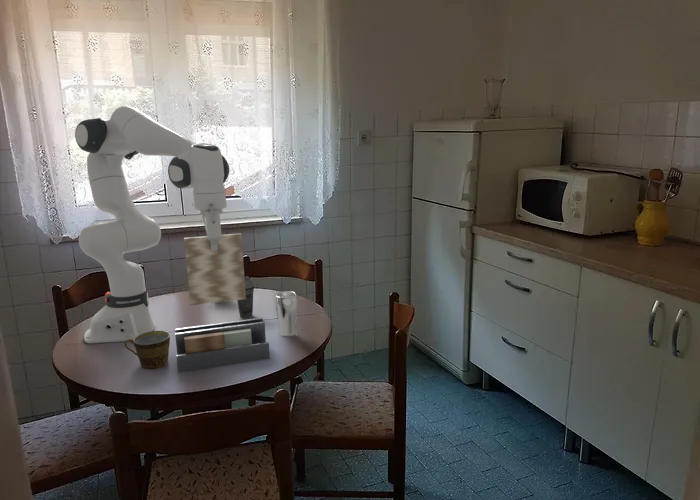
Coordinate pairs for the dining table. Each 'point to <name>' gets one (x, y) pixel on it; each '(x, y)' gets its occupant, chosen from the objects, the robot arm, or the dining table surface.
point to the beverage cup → (247, 300)
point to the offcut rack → (224, 355)
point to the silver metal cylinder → (287, 312)
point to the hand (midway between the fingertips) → (214, 249)
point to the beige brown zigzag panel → (215, 269)
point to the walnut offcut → (204, 342)
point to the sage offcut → (237, 338)
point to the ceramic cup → (151, 349)
